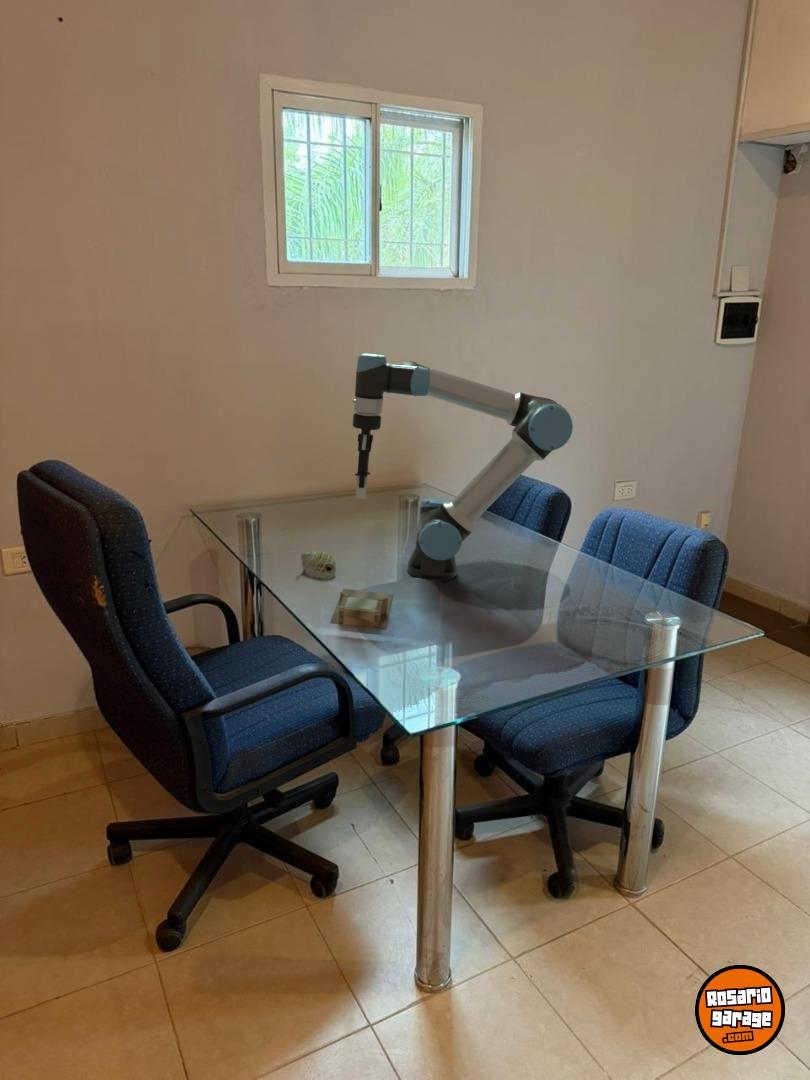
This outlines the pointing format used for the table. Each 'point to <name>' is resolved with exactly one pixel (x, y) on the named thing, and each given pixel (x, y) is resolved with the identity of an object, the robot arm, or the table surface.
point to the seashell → (318, 565)
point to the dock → (363, 609)
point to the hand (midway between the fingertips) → (360, 498)
